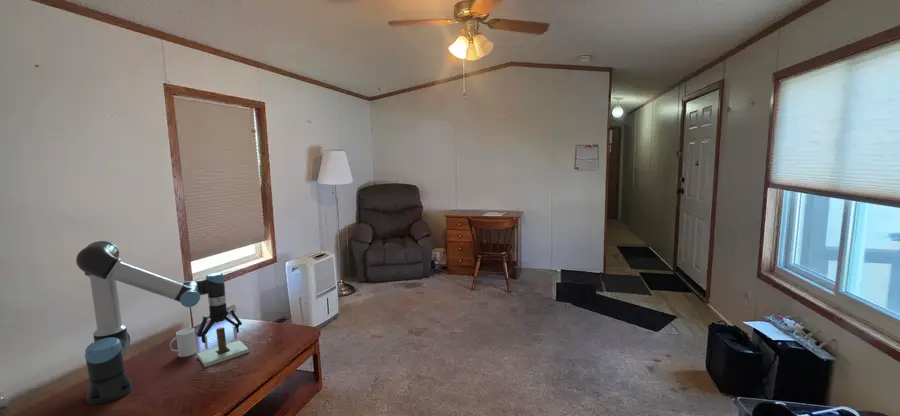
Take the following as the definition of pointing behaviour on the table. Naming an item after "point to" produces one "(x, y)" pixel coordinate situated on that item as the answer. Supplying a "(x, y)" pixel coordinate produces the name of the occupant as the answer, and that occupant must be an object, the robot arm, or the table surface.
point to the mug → (185, 342)
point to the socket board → (213, 357)
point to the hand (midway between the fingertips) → (221, 343)
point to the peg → (221, 340)
